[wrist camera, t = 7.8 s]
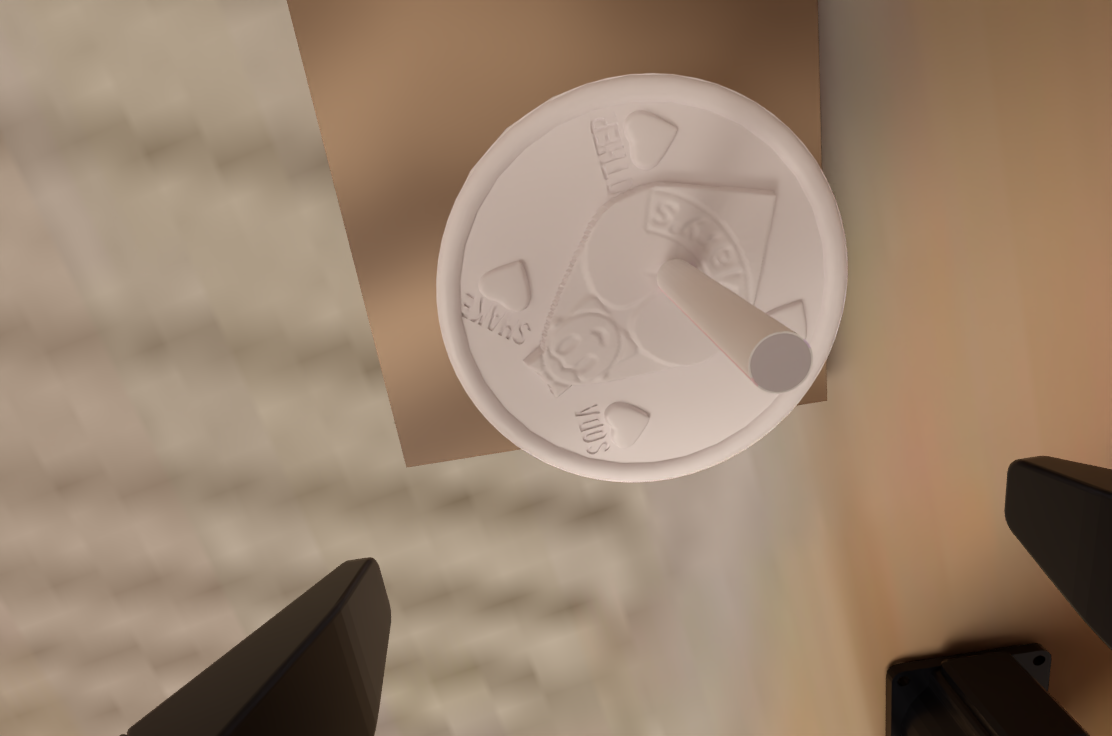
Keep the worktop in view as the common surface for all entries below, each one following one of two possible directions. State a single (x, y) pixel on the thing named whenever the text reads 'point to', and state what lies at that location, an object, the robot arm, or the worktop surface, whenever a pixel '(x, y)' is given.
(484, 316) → the white cup with straw
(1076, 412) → the worktop surface
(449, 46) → the walnut board
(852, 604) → the worktop surface
